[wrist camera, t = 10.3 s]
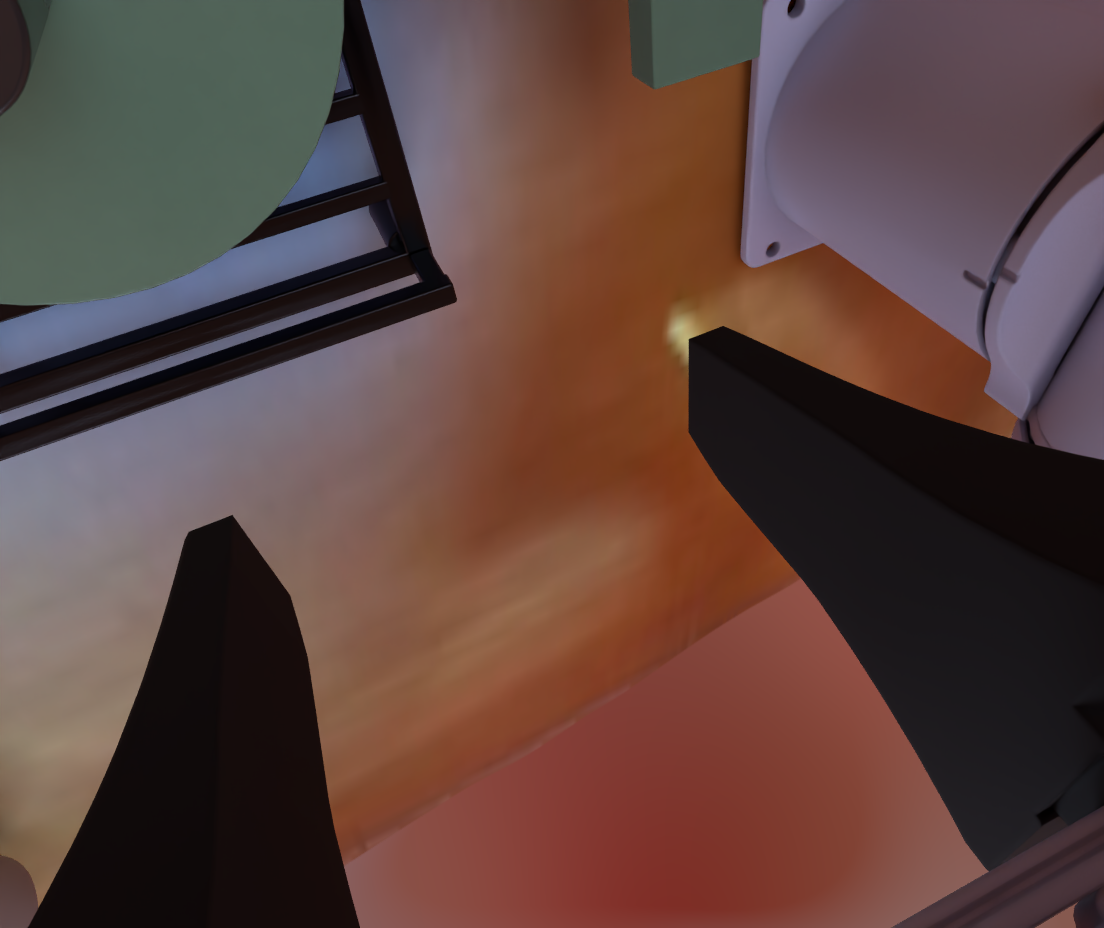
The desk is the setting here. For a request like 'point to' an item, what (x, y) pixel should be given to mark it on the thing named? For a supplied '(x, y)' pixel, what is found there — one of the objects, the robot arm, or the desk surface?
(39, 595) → the desk surface
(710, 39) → the pot
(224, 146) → the lid
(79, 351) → the rack
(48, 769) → the desk surface
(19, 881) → the game controller
